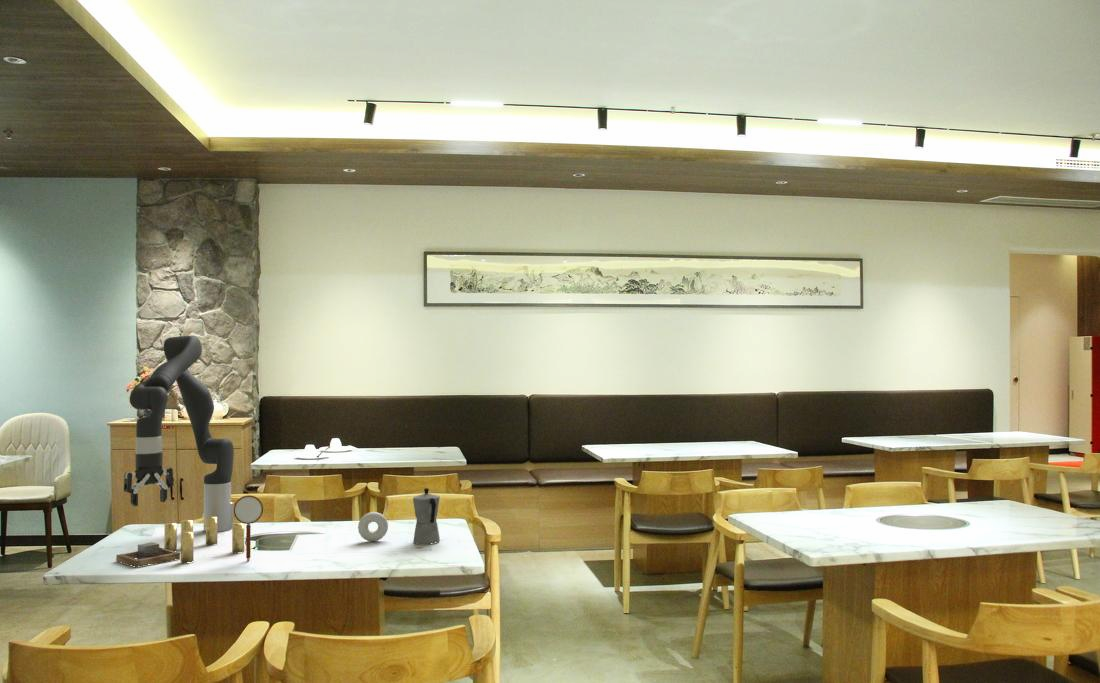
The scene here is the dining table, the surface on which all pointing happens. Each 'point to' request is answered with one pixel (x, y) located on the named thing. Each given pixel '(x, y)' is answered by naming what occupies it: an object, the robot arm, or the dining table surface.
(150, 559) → the tray
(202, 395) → the robot arm
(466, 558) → the dining table surface
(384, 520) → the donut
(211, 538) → the standing stones
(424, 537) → the coffeepot
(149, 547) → the grey block
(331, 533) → the dining table surface
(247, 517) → the magnifying glass
